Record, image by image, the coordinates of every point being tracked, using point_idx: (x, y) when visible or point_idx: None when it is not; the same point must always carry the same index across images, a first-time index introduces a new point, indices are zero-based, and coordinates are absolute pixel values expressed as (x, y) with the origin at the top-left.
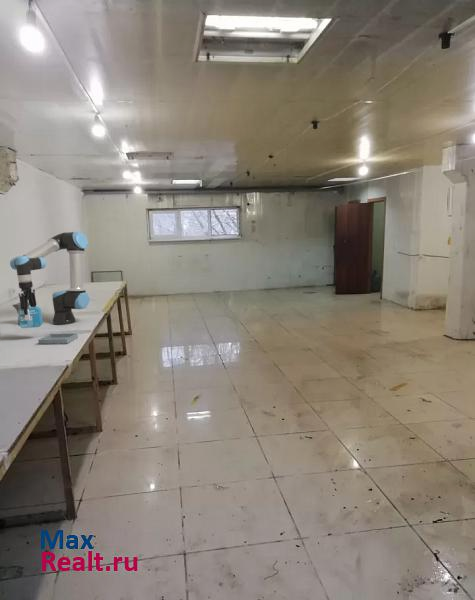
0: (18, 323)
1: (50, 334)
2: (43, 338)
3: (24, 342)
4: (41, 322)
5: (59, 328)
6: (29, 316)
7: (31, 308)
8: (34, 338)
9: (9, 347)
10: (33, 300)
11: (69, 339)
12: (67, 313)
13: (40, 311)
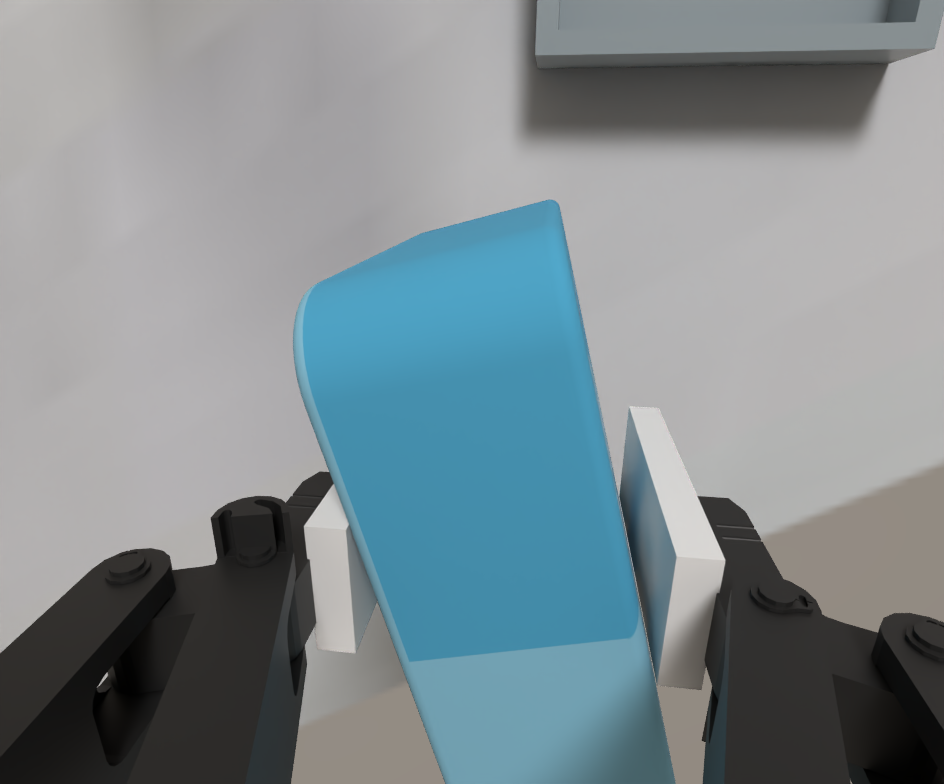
0: None
1: (568, 31)
2: (801, 27)
3: (694, 363)
4: (486, 216)
5: (33, 246)
6: (648, 438)
7: (606, 493)
8: None
9: (909, 434)
10: (58, 759)
11: None
12: None
13: (391, 258)
